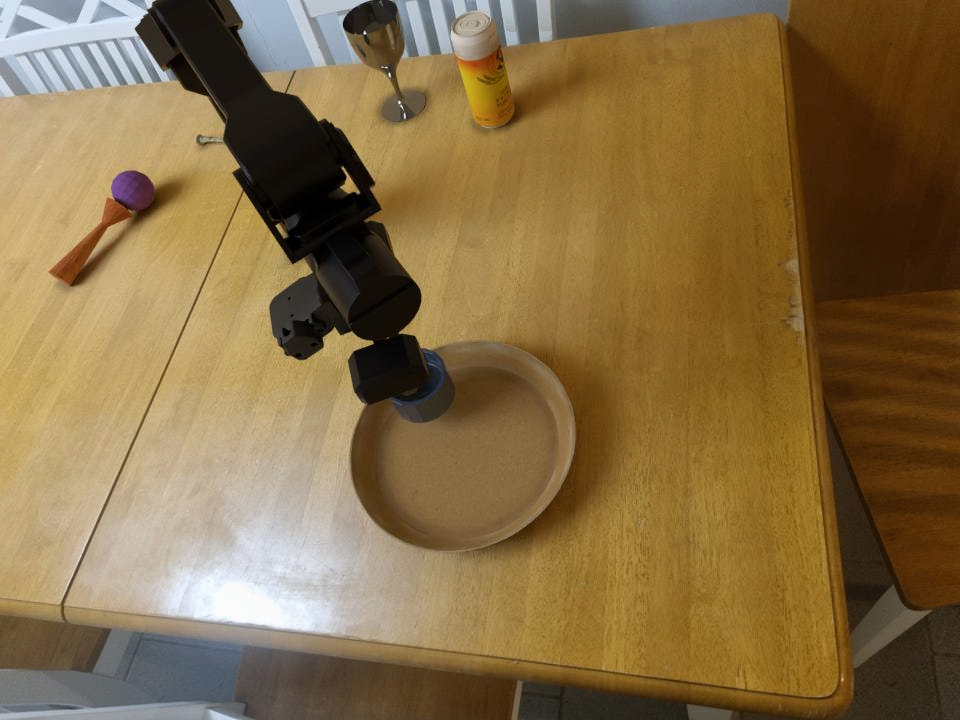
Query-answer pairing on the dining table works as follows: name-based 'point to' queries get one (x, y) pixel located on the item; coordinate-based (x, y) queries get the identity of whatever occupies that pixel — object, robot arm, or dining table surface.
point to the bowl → (428, 393)
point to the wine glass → (383, 52)
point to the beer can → (482, 68)
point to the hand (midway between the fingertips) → (401, 355)
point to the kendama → (108, 220)
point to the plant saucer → (467, 453)
